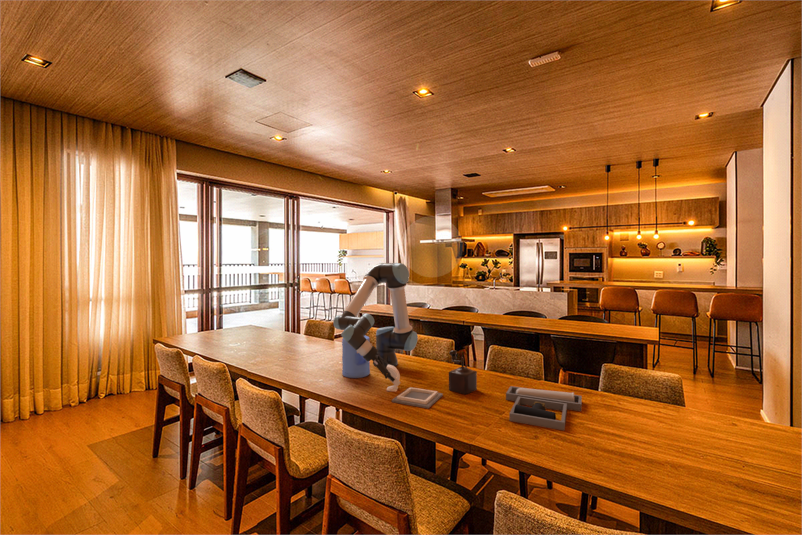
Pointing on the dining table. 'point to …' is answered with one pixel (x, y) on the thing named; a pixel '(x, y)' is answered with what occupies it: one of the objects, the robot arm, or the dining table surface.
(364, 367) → the water jug
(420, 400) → the coaster board
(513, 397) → the tube rest frame
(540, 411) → the pipe connector
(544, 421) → the connector rest frame
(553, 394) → the tube
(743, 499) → the dining table surface
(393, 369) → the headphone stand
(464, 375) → the pepper mill
